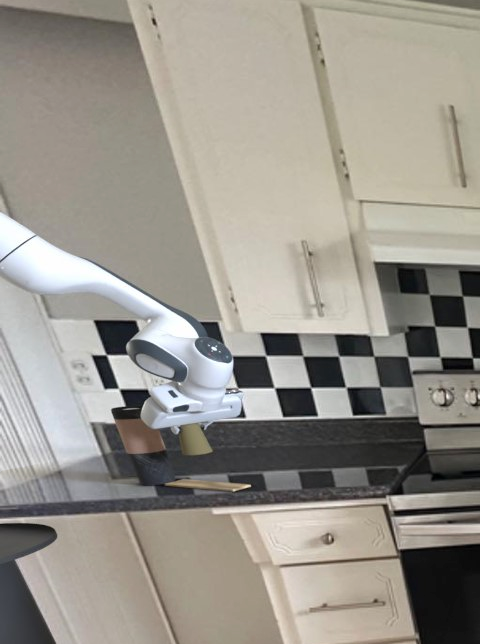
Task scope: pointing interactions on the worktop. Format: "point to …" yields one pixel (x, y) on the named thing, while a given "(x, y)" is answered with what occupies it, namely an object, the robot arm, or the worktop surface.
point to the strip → (208, 485)
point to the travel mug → (143, 446)
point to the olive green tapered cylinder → (193, 440)
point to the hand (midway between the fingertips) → (188, 430)
